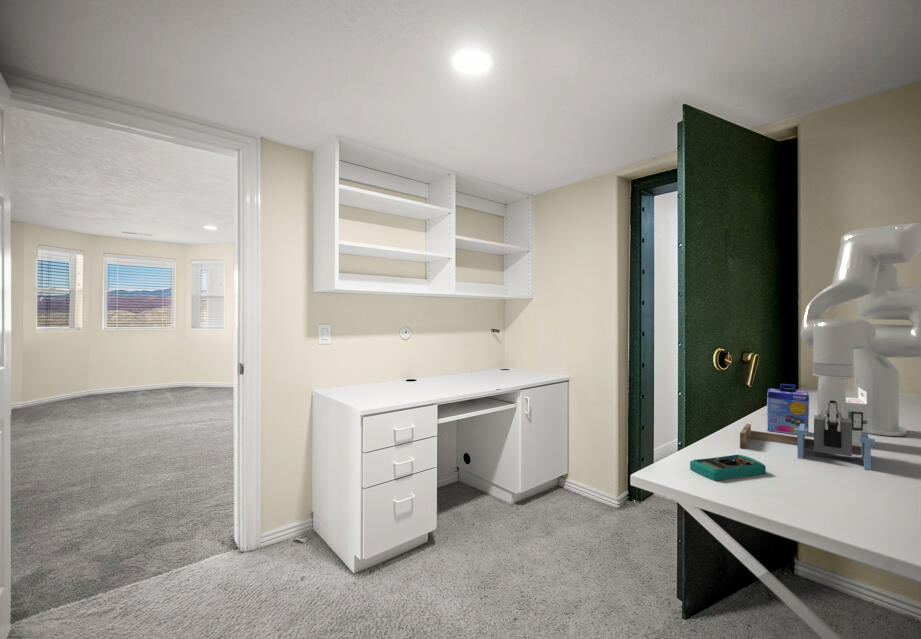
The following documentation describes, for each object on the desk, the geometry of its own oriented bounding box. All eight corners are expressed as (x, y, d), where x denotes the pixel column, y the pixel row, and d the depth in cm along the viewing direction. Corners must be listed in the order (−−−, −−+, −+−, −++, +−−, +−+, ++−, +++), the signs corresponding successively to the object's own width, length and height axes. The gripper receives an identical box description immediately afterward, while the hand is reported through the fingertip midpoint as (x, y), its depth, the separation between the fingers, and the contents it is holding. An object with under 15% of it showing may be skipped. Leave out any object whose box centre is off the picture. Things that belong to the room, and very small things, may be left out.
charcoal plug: (814, 446, 110) (814, 415, 109) (851, 451, 105) (851, 419, 105) (813, 450, 106) (813, 418, 106) (851, 456, 102) (852, 423, 101)
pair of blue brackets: (796, 445, 115) (796, 419, 115) (870, 456, 105) (871, 428, 105) (793, 457, 106) (794, 429, 106) (874, 470, 96) (875, 440, 96)
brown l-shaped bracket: (747, 436, 123) (747, 422, 123) (866, 454, 107) (866, 439, 107) (739, 448, 113) (739, 433, 113) (870, 470, 97) (870, 452, 97)
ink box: (835, 437, 122) (835, 385, 121) (858, 439, 119) (859, 386, 119) (843, 445, 114) (843, 390, 114) (868, 448, 112) (868, 392, 111)
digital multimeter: (768, 475, 96) (768, 462, 96) (714, 483, 92) (714, 469, 92) (739, 464, 103) (739, 452, 103) (688, 471, 99) (688, 458, 99)
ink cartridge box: (767, 431, 128) (767, 383, 128) (767, 427, 132) (767, 380, 132) (809, 436, 122) (809, 386, 122) (808, 432, 127) (808, 383, 126)
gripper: (813, 365, 114) (813, 433, 114) (812, 373, 101) (811, 449, 102) (852, 367, 109) (851, 438, 109) (855, 376, 96) (854, 456, 97)
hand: (832, 443), depth 106 cm, fingers closed on charcoal plug, 4 cm apart
